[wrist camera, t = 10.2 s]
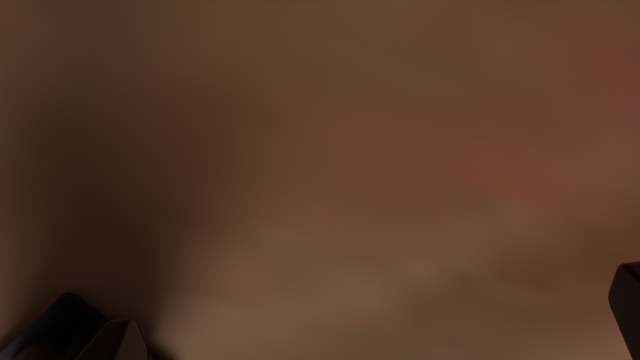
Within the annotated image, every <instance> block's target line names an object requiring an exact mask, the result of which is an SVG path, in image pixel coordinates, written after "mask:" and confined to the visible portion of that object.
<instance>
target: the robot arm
mask: <svg viewBox="0 0 640 360" xmlns="http://www.w3.org/2000/svg"><path fill="white" fill-rule="evenodd" d="M608 299H609V304H610V307H611V310H612V312H613V314H614V317H615V319H616V322H617V324H618V326H619V329H620V331H621V333H622V336H623V338H624V341H625V343H626V345H627V348H628V350H629V353H630V355H631V357H632V360H640V262H630V263H623V264H621V265H619V266H618V268H617V270H616V273H615V276H614V279H613V282H612V285H611V287H610V290H609V295H608ZM63 303H68V304H70V305H71V306H72V308H67V307H65V306H64V305H63ZM0 360H161V359H160V358H159V357H157V356H156V355H155V354H153V353H152V352H151V350H150V349H148V348H147V347H146V346H145V343H144V341H143V339H142V336H141V334H140V332H139V330H138V328H137V326H136V323H135V322H134V320H132V319H131V318H125V319H116V320H109V319H107V318H106V317H104V316H103V315H102V314H100V313H99V312H98V311H96V310H95V309H94V308H92V307H91V306H90V305H88V304H87V303H86V302H84V301H83V300H82V299H80V298H79V297H78V296H76V295H74V294H72V293H64V294H62V295H60V296H59V297H58V298H57V299H56V300H55V301H54V302H52V303H51V304H50V305H49V306H48V307H47V308H46V309H45V310H44V311H43V312H42V313H41V314H40V315H39V316H38V317H37V318H36V319H34V320H33V321H32V322H31V323H30V324H29V325H28V326H27V327H26V328H25V329H24V330H23V331H22V332H21V333H20V334H19V335H18V336H16V337H15V338H14V339H13V340H12V341H11V342H10V343H9V344H8V345H7V346H6V347H5V348H4V349H3V350H2V351H1V352H0Z"/></svg>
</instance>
